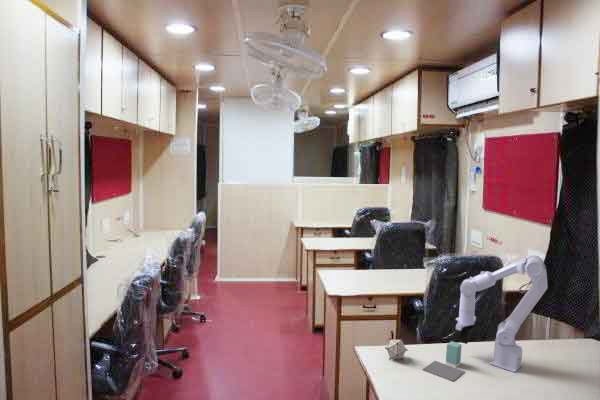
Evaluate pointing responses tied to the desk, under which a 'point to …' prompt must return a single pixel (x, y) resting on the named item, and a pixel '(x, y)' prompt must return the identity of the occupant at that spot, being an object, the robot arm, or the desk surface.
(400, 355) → the game die
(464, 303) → the robot arm
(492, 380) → the desk surface
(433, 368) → the pad
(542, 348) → the desk surface
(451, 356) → the teal block
